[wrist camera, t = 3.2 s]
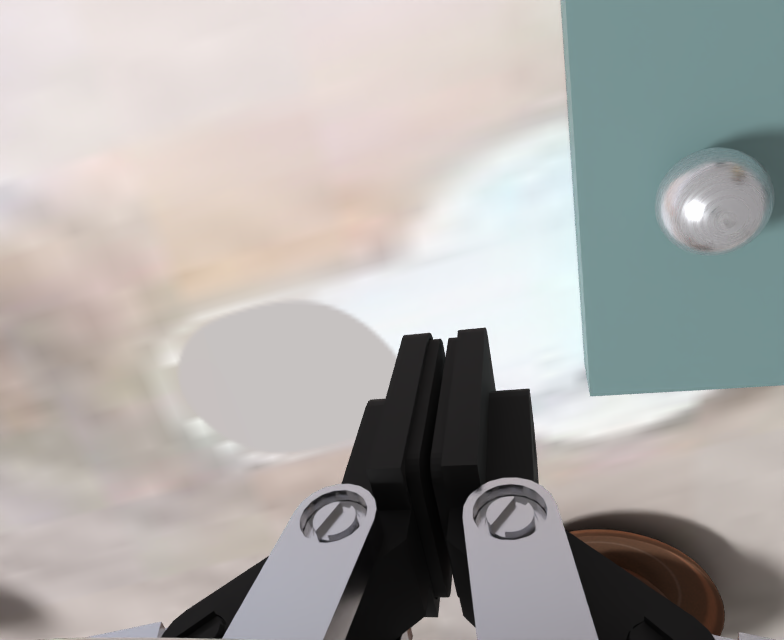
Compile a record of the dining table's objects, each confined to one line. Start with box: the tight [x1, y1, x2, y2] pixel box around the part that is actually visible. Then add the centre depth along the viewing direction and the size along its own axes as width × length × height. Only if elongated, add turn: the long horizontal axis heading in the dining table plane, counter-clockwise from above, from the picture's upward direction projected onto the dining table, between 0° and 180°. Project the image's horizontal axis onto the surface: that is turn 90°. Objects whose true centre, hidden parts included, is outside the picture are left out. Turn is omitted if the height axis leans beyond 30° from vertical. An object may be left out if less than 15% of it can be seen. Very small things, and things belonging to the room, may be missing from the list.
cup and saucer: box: [570, 529, 725, 636], centre depth 32 cm, size 12×12×6 cm
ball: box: [655, 147, 774, 256], centre depth 20 cm, size 3×3×3 cm
